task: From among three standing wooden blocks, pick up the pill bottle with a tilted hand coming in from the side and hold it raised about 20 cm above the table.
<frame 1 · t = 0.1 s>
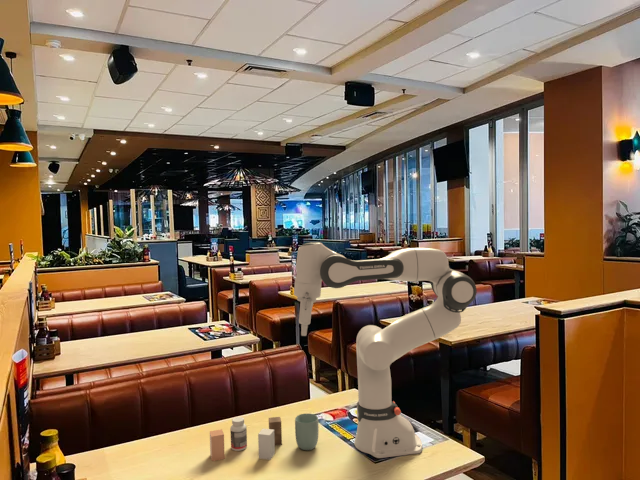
hand: (304, 331, 157), 39 cm above the table, tool pointing down, fingers open, 8 cm apart
terracotta block: (217, 457, 153), on the table
walnut block: (275, 442, 162), on the table
cup: (307, 447, 158), on the table
pill bottle: (239, 448, 159), on the table
grey block: (266, 455, 153), on the table
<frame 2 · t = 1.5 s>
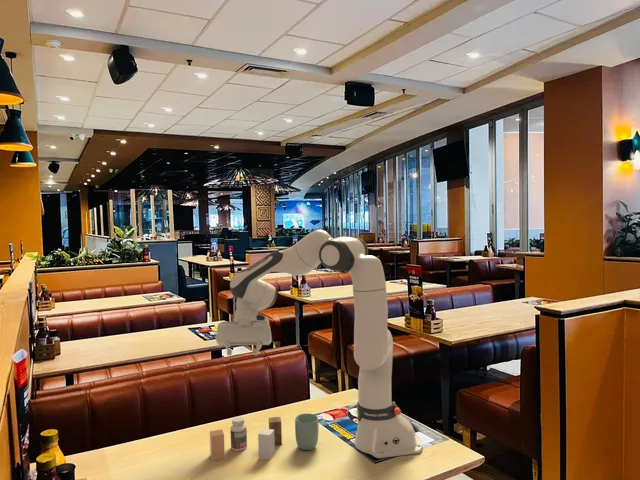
hand: (242, 354, 170), 28 cm above the table, tool tilted 45°, fingers open, 8 cm apart
nothing on the table moved.
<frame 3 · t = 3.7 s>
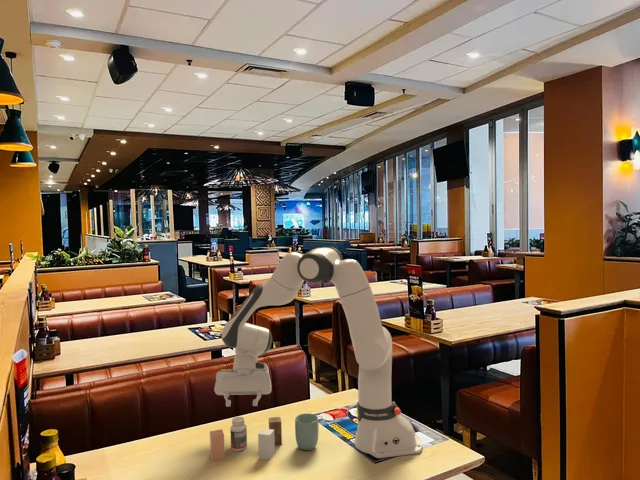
hand: (241, 405, 166), 11 cm above the table, tool tilted 45°, fingers open, 8 cm apart
nothing on the table moved.
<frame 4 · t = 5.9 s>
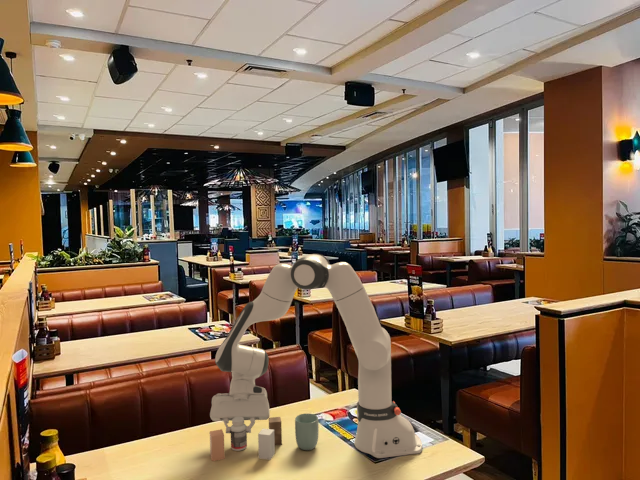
hand: (238, 432, 158), 5 cm above the table, tool tilted 45°, fingers closed on pill bottle, 5 cm apart
pill bottle: (239, 448, 159), on the table, touching gripper
everything else where it was.
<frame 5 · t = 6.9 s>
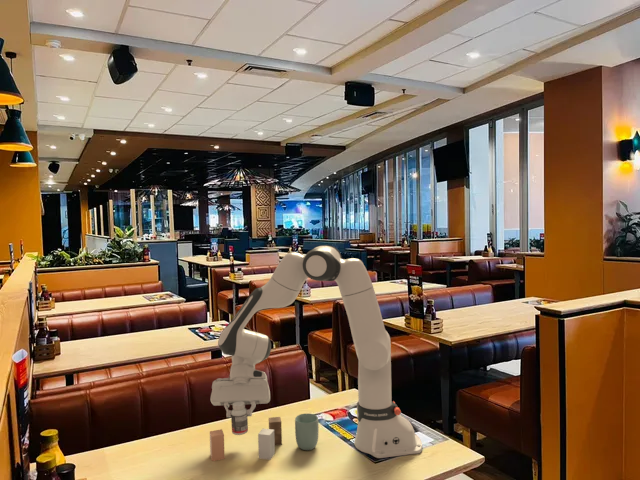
hand: (239, 416, 158), 11 cm above the table, tool tilted 45°, fingers closed on pill bottle, 5 cm apart
pill bottle: (240, 432, 159), point 5 cm above the table, touching gripper
everything else where it was.
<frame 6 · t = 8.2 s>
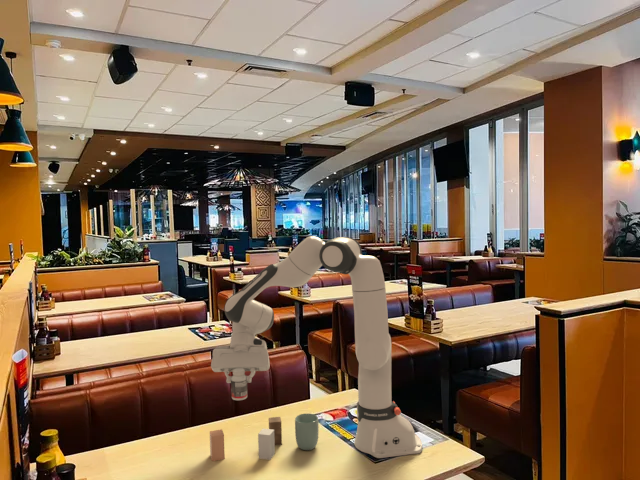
hand: (238, 382, 161), 21 cm above the table, tool tilted 45°, fingers closed on pill bottle, 5 cm apart
pill bottle: (239, 398, 162), point 15 cm above the table, touching gripper
everything else where it was.
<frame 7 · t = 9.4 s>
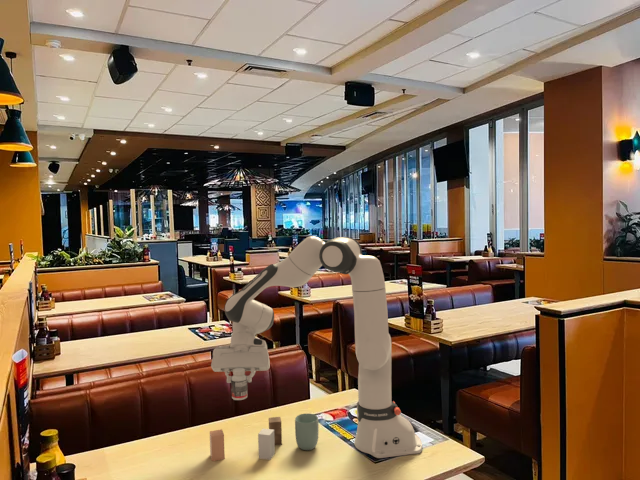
hand: (238, 381, 161), 21 cm above the table, tool tilted 45°, fingers closed on pill bottle, 5 cm apart
pill bottle: (239, 398, 162), point 15 cm above the table, touching gripper
everything else where it was.
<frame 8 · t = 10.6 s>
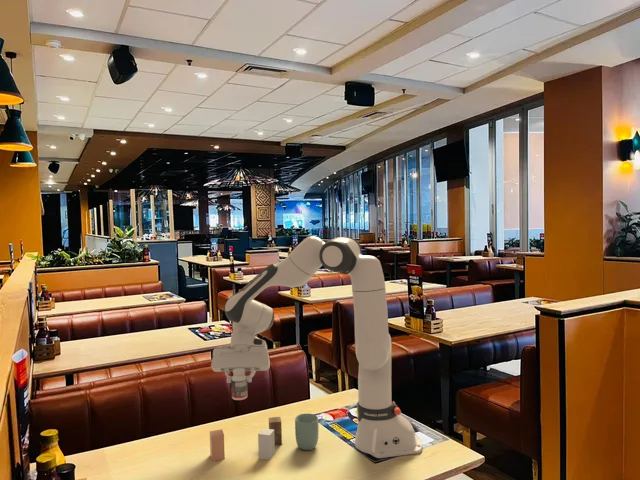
hand: (239, 381, 161), 21 cm above the table, tool tilted 45°, fingers closed on pill bottle, 5 cm apart
pill bottle: (239, 398, 162), point 15 cm above the table, touching gripper
everything else where it was.
at the end: the gripper is holding pill bottle; pill bottle point 15.3 cm above the table; grey block moved 0.0 cm from its start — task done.
